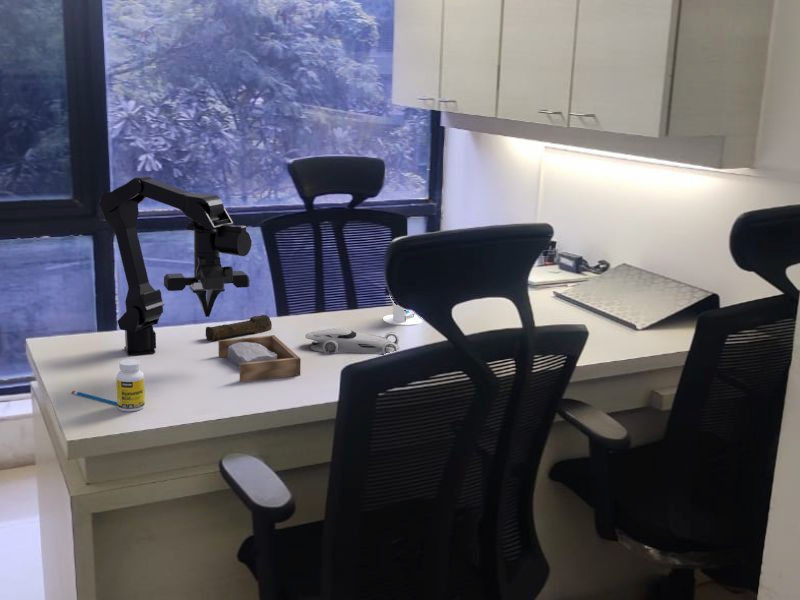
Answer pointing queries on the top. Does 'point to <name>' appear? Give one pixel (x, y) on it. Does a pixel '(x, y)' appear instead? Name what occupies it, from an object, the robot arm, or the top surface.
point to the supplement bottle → (130, 386)
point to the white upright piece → (401, 317)
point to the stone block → (249, 353)
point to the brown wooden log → (240, 328)
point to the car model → (351, 342)
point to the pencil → (94, 397)
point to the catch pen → (265, 369)
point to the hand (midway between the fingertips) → (207, 316)
